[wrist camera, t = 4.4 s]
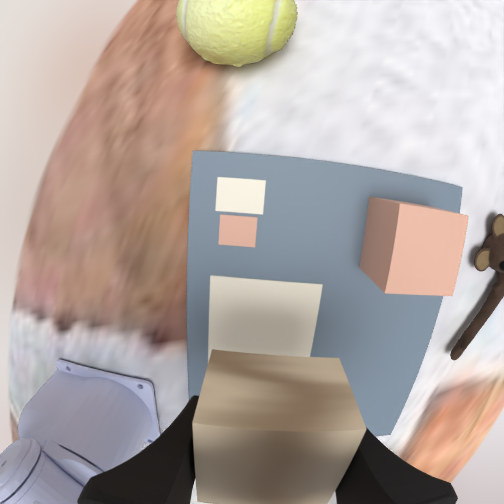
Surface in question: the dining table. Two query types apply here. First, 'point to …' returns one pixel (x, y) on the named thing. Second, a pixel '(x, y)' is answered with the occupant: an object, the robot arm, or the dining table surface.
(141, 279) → the dining table surface
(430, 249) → the terracotta block
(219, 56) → the tennis ball
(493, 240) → the bear figurine
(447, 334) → the dining table surface
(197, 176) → the board
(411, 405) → the dining table surface
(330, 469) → the maple block
